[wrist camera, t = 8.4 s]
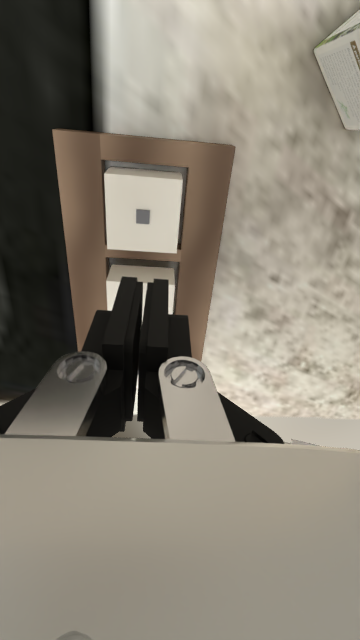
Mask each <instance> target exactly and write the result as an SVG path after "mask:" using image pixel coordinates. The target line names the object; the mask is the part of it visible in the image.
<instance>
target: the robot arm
mask: <svg viewBox="0 0 360 640" xmlns="http://www.w3.org/2000/svg"><path fill="white" fill-rule="evenodd" d="M168 297H169V280H167V279H154V282H148V283H147V291H146V298H145V306H144V313H143V321H142V305H143V282H138V280H137V277H123V276H122V278H121V281H120V284H119V288H118V291H117V295H116V298H115V301H114V305H113V308H112V311H108V310H97V311H96V313H95V315H94V318H93V321H92V323H91V326H90V329H89V331H88V334H87V337H86V339H85V342H84V345H83V347H82V350H81V351H80V352H73V353H70V354H67V355H65V356H63V357H61V358H60V359H58V360H57V361H56V362H55V363H54V364H53V366H52V367H51V369H50V370H49V371H48V373H47V374H46V376H45V377H44V379H43V380H42V381H41V383H40V384H39V386H38V387H37V388H36V389H34V390H32V391H30V392H28V393H26V394H24V395H22V396H20V397H18V398H16V399H14V400H12V401H9V402H7V403H5V404H3V405H1V406H0V640H360V450H355V449H348V448H336V447H324V446H319V445H314V444H310V443H306V442H302V441H297V440H293V439H291V442H290V443H287V442H283V440H282V439H281V438H280V437H279V436H278V435H277V434H276V433H275V432H274V431H272V430H271V429H270V428H268V427H267V426H265V425H264V424H262V423H261V422H259V421H258V420H257V419H255V418H254V417H253V416H251V415H250V414H248V413H247V412H245V411H244V410H243V409H241V408H240V407H238V406H237V405H235V404H234V403H233V402H231V401H230V400H228V399H227V398H225V397H224V396H223V395H221V394H220V393H218V392H217V390H216V387H215V384H214V382H213V379H212V376H211V373H210V371H209V369H208V368H207V366H206V365H204V364H203V363H202V362H200V361H199V360H197V359H194V358H192V353H191V342H190V331H189V319H188V315H174V314H168ZM138 370H139V372H138ZM137 378H138V416H137V421H142V422H143V431H144V432H145V433H146V434H147V435H148V436H150V437H151V438H152V439H143V438H116V437H114V438H113V437H112V436H113V435H115V434H116V433H118V432H119V431H123V432H124V430H125V423H126V421H132V418H133V410H134V402H135V394H136V386H137Z"/></svg>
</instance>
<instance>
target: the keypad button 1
mask: <svg viewBox="0 0 360 640" xmlns="http://www.w3.org/2000/svg"><path fill="white" fill-rule="evenodd" d="M104 184H105V207H106V231H107V249H114V250H129V251H145V252H160V253H176V254H177V243H178V231H179V219H180V208H181V196H182V184H183V179H182V176H181V173H180V172H168V171H157V170H145V169H134V168H122V167H110V168H109V169H108V170H107V171H106V172H105V173H104Z"/></svg>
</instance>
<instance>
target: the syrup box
mask: <svg viewBox="0 0 360 640" xmlns="http://www.w3.org/2000/svg"><path fill="white" fill-rule="evenodd" d="M314 54H315V56H316V59H317V61H318V64H319V66H320V69H321V71H322V74H323V76H324V79H325V81H326V84H327V86H328V88H329V91H330V93H331V96H332V98H333V101H334V103H335V105H336V108H337V110H338V112H339V115H340V118H341V120H342V122H343V124H344V127H345V129H347V130H360V9H359V10H358V11H357V12H356V13H355V14H354V15H352V16H351V17H350V18H349V19H348V20H347V21H345V22H344V23H343V24H342V25H341V26H340V27H339V28H337V29H336V30H335V31H334V32H333V33H332V34H330V35H329V36H328V37H327V38H326V39H325V40H323V41H322V42H321V43H320V44H319V45H318V46H316V47H315V48H314Z"/></svg>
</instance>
